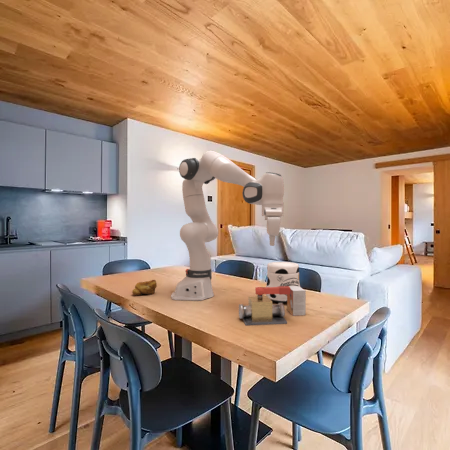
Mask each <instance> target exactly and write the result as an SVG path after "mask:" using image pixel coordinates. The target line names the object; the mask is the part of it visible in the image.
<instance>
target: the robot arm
mask: <svg viewBox="0 0 450 450" xmlns="http://www.w3.org/2000/svg"><path fill="white" fill-rule="evenodd" d="M178 172H179V175H180V177H181V178H183V181H182V186H181V187H182V191H181V192H182V198H183V206H184V210H185V214H186V215H187V216H188V217H189V218H190V219H191V221H192V222H188V223H186V224H183V225H181V228H180V230H179V237H180V240H181V241H182V242H183V243H184V244H185V246H186V248H187V251H188V255H189V268H186V269H185V270H184V271H185V277H184V278H183V279H181V280H180V281H179V282H178V283H177V284H176V286H175V289H174V291H173V292H172V293H171V295H170V298H171V299H172V300H173V301H175V300H176V301H204V300H206V299H210V298H212V297H214V296H215V294H214V291H213V285H212V277H213V275H212V273H213V272H212V266H211V265H212V264H211V261H212V260H211V253H210V251H208V249H207V247H206V243H209V242H212V241H214V240H216V239H217V238H218V236H219V228H218V227H217V225H216V224H215V223H214V222H213V220H212V219H211V217H210V214H209V212H208V209H207V205H206V200H205V196H204V191H203V185H207V184H209V183H210V182H212V181H214V180H215V179H217V180H218V181H220V182H223V183H228V184H234V185H238V186H242V187H243V188H242V192H241V193H242V198H243V201H245V203H247V204H249V205H250V204H251V205H257V206H261V216H262V217H264V221H266V233H267V234H268V235H269V236H268V237H269V245H270V246H271V247H274V246H275V240H276V237H278V236H279V234H280V228H281V227H280V226H281V221H282V218H281V217H284V208H285V205H284V195H285V194H284V193H285V188H284V187H285V184H284V179H283V177H284V176H283V175H282V174H280V173H276V172H270V171H269V172H268V171H267V172H264V173H263V174H262V175H261V176H260V177H259V178H256V177H254V176H253V175H250V173H248V172H246V171H245V170H243V168H241V167H240V166H239V165H237V164H236V163H234V162H233V161H232V160H231V159H229V158H228V157H226V156H225V155H223V154H222V153H220V152H217V151H214V150H211V149H210V150H207V151H205V152H203V154H202V156H201V158H199V159H197V158H196V157H192V158H190V157H189V158H186V159H183V160H181V162H180V164H179V166H178Z"/></svg>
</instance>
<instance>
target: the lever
mask: <svg viewBox="0 0 450 450" xmlns="http://www.w3.org/2000/svg"><path fill="white" fill-rule="evenodd" d="M254 291H255V294H256V295H257V294H258V295H262V296H264V295H266V294H279V295H282V294H290V287H289V286H278V287H266V286H264V287H263V286H257V287H255V290H254Z"/></svg>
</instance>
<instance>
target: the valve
mask: <svg viewBox="0 0 450 450" xmlns="http://www.w3.org/2000/svg"><path fill="white" fill-rule="evenodd" d="M285 312H286V310H285V305H284V303H281V302H277V304H273V301H272V300H271V299H270V298H269V297H268V296H266V295H258V294H256V296H255V295H253V296H248V305H244V304H243V303H241V304H238V317H239V319H240V320H242V321H243V323H244V325H245V326H261V325H262V326H265V325H284V324H285V325H286V324H287V323H288V320H287V319H286V318H285V316H286V313H285Z"/></svg>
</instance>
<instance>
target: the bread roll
mask: <svg viewBox="0 0 450 450" xmlns="http://www.w3.org/2000/svg"><path fill="white" fill-rule="evenodd" d="M157 285H158V284H157V281H156V279H152V280H148V281H144V282H143V281H139V282H137V283H136V284H135V285H134V288H133V289H132V291H131V293H132V295H133V296H137V295H140V296H142V295H141V294H150V295H153V294H154V293H155V291H156V289H157ZM152 293H153V294H152Z"/></svg>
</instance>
